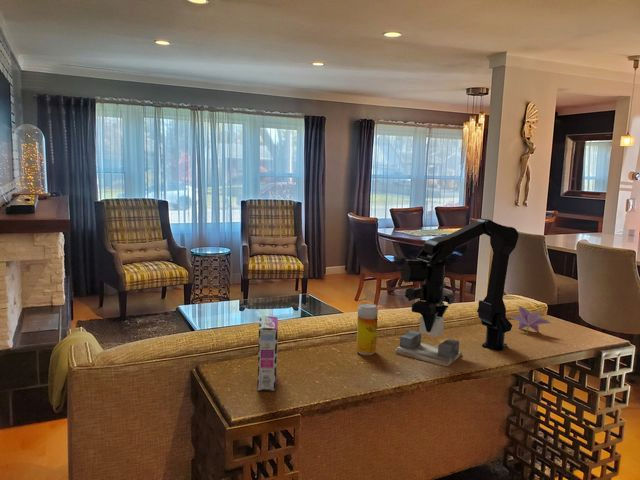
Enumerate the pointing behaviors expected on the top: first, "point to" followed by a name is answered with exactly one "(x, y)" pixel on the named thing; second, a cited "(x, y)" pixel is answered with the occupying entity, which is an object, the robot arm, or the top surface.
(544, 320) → the lily
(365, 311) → the beer can
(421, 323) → the module block
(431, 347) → the rail board
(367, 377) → the top surface
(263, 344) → the candy bar box
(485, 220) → the robot arm
